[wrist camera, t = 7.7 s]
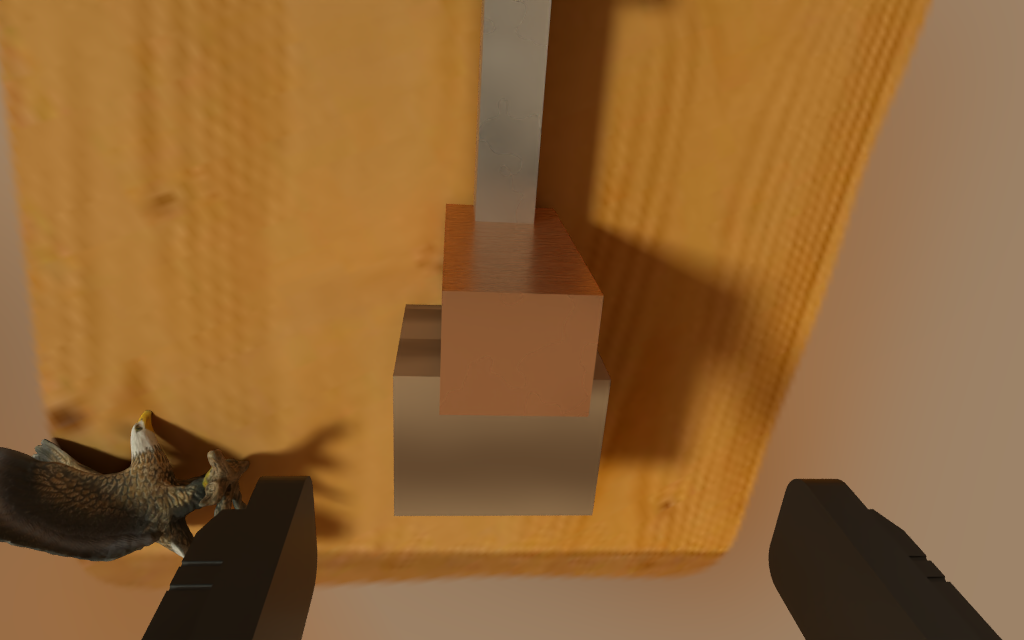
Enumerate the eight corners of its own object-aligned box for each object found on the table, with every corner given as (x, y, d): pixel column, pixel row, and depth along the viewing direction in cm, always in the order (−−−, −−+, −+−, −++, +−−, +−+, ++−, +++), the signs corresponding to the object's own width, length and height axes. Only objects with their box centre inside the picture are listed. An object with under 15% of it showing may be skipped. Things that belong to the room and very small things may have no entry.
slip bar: (454, -126, 20) (454, -239, 12) (582, -114, 20) (668, -215, 12) (441, 388, 27) (436, 541, 19) (537, 389, 28) (572, 540, 19)
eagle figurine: (217, 355, 25) (-55, 393, 23) (218, 540, 21) (-107, 605, 19) (258, 437, 31) (46, 473, 29) (264, 591, 28) (22, 645, 26)
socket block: (406, 304, 26) (393, 375, 21) (578, 309, 27) (611, 379, 21) (405, 422, 28) (394, 515, 23) (566, 424, 29) (592, 515, 23)
